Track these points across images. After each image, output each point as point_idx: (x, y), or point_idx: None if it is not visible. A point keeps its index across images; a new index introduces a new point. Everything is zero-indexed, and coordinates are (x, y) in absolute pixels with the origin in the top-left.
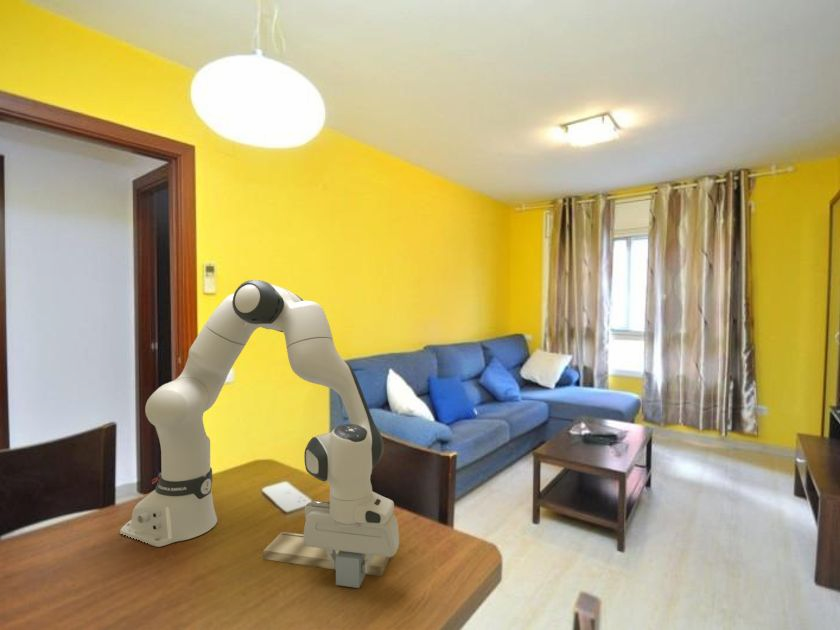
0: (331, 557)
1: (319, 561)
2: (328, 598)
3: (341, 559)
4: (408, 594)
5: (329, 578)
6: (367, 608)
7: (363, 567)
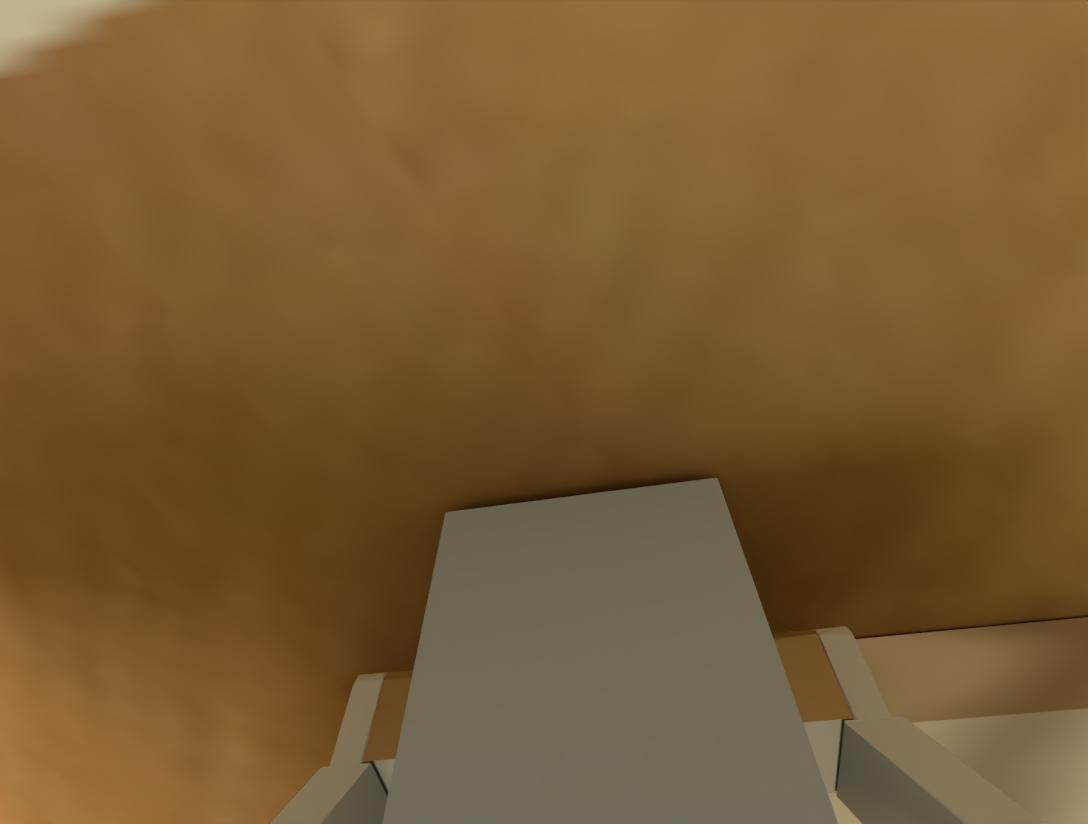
0: (920, 773)
1: (1045, 676)
2: (705, 274)
3: (710, 787)
4: None
5: (835, 534)
6: (166, 296)
7: (388, 734)
